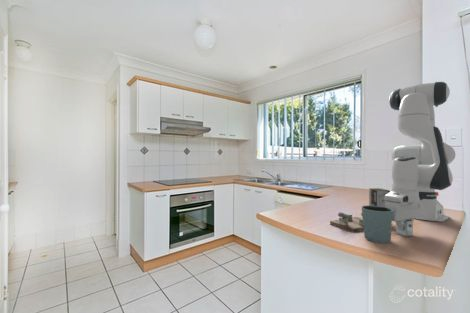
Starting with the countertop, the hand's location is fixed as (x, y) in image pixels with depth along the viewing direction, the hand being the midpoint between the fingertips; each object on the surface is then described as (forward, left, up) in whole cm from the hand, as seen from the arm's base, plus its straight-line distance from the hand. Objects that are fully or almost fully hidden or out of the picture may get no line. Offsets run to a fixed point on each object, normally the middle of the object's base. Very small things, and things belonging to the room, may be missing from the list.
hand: (404, 229), depth 89 cm
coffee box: (-8, -15, -2) cm, 17 cm away
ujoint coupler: (0, 0, -2) cm, 2 cm away
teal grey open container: (+16, -1, -2) cm, 16 cm away
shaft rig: (+8, -16, -2) cm, 18 cm away
